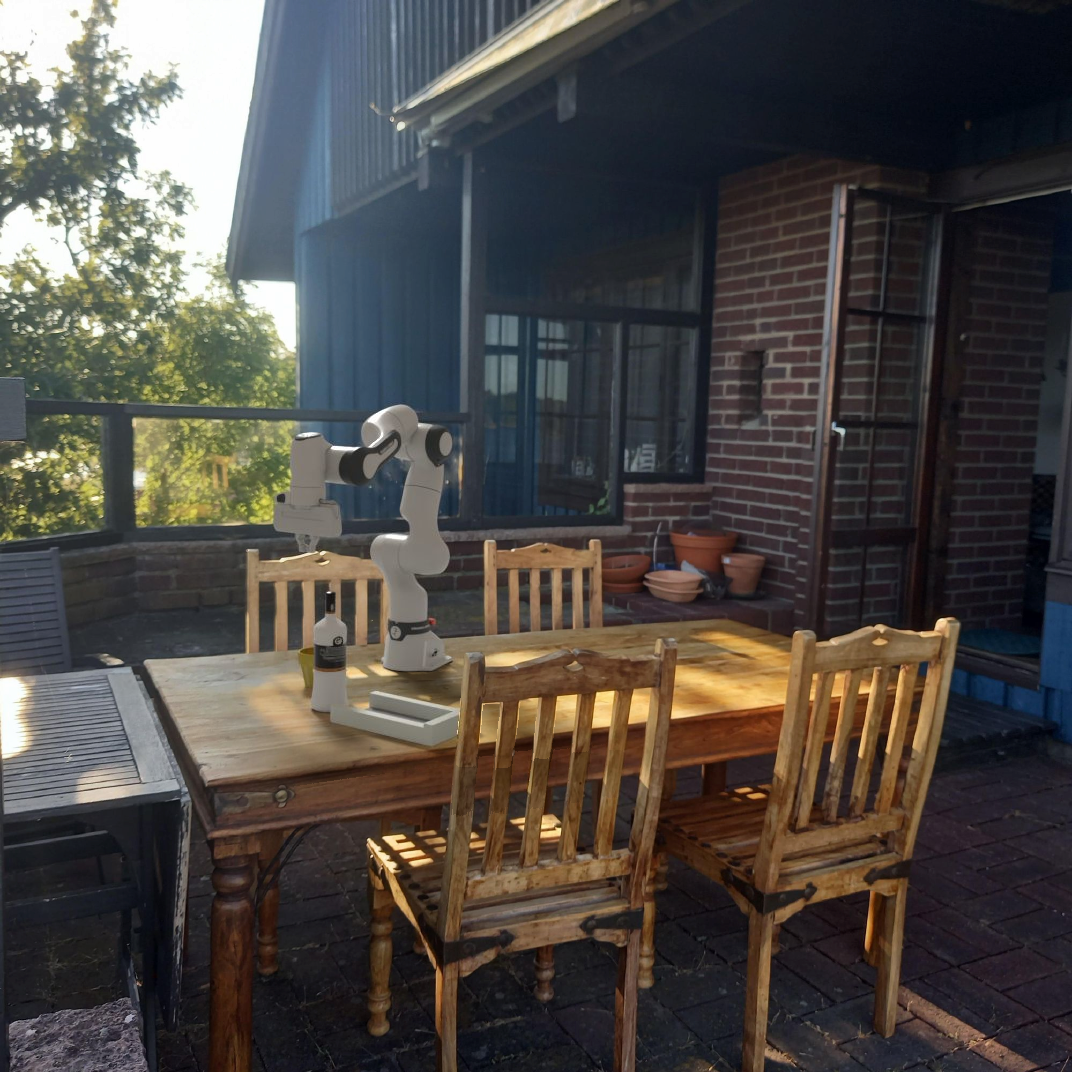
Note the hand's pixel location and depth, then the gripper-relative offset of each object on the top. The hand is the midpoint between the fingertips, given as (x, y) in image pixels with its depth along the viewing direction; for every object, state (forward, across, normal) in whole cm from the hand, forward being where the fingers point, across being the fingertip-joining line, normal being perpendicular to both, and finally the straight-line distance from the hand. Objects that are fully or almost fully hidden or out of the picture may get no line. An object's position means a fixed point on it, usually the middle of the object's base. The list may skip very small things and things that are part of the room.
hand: (307, 552), depth 263 cm
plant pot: (+39, +9, -14) cm, 43 cm away
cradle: (+39, -31, 0) cm, 50 cm away
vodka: (+39, -8, 0) cm, 40 cm away
